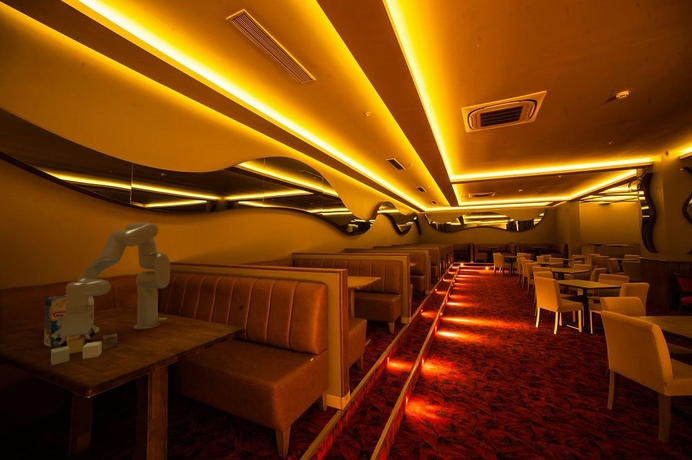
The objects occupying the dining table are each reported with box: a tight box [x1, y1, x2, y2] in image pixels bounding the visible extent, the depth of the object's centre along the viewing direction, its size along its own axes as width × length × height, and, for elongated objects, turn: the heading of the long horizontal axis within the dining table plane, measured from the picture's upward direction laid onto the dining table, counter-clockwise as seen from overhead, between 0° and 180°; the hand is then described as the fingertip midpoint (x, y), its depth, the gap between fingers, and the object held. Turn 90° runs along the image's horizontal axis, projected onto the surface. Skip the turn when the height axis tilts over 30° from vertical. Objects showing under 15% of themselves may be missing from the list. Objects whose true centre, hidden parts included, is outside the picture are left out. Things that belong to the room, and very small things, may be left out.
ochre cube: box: [67, 336, 86, 355], centre depth 127 cm, size 5×5×5 cm
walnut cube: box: [102, 333, 119, 350], centre depth 132 cm, size 5×5×5 cm
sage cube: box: [50, 346, 70, 366], centre depth 117 cm, size 5×5×5 cm
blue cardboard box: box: [43, 294, 81, 348], centre depth 139 cm, size 7×11×22 cm, turn 155°
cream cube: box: [82, 340, 103, 360], centre depth 122 cm, size 5×5×5 cm
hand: (76, 349), depth 127 cm, fingers open, 6 cm apart
